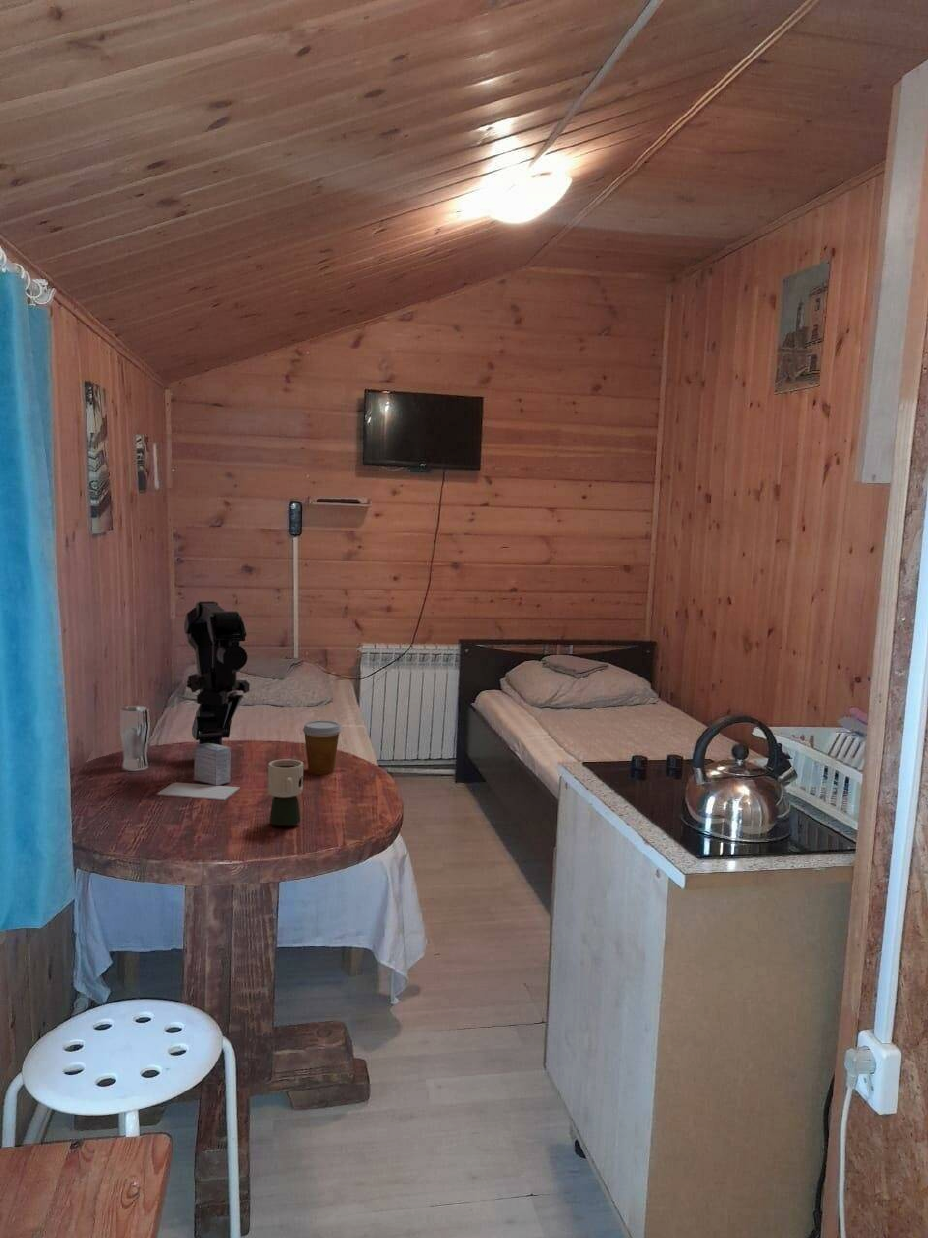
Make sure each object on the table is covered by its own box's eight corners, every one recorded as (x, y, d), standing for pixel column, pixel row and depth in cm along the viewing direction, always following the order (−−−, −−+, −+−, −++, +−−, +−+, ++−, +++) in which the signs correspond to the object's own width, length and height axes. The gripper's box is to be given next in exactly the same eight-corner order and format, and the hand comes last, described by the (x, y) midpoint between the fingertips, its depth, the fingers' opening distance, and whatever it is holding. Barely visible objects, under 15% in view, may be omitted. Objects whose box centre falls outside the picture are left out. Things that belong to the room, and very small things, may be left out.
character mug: (306, 831, 186) (307, 769, 184) (271, 834, 183) (272, 771, 182) (297, 814, 196) (298, 755, 195) (264, 817, 194) (264, 757, 192)
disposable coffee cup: (341, 766, 235) (342, 720, 233) (338, 777, 225) (339, 729, 224) (304, 765, 234) (305, 719, 233) (299, 776, 225) (300, 728, 223)
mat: (174, 783, 215) (174, 782, 215) (239, 788, 213) (239, 787, 213) (156, 794, 206) (156, 793, 206) (224, 800, 204) (224, 799, 204)
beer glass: (143, 772, 223) (143, 712, 221) (115, 771, 223) (115, 710, 221) (153, 764, 230) (153, 706, 228) (126, 763, 230) (126, 705, 228)
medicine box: (230, 783, 216) (231, 746, 216) (216, 786, 213) (217, 749, 212) (208, 777, 221) (209, 742, 220) (193, 780, 217) (194, 744, 216)
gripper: (208, 655, 231) (207, 716, 232) (175, 667, 212) (175, 733, 214) (250, 658, 229) (249, 719, 231) (221, 670, 211) (220, 736, 213)
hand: (223, 726), depth 222 cm, fingers open, 3 cm apart
